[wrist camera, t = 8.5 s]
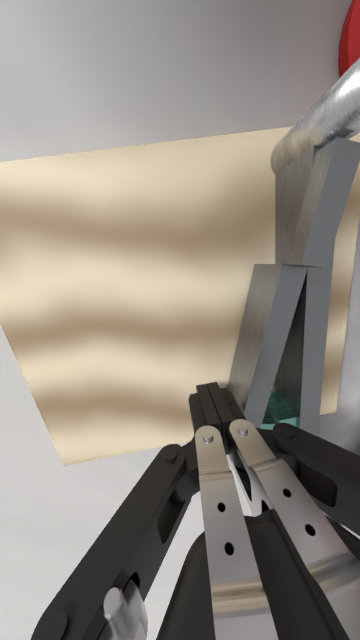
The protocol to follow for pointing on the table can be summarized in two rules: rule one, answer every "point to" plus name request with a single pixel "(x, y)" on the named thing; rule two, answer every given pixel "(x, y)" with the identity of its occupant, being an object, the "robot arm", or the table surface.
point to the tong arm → (289, 281)
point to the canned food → (350, 38)
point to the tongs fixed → (313, 304)
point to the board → (143, 282)
